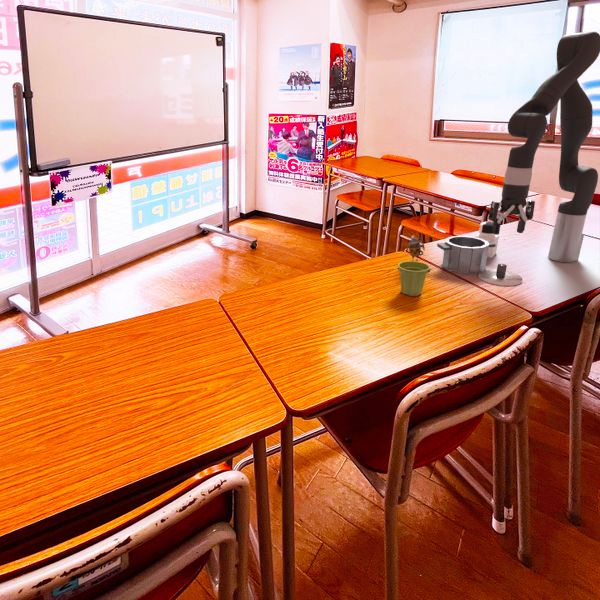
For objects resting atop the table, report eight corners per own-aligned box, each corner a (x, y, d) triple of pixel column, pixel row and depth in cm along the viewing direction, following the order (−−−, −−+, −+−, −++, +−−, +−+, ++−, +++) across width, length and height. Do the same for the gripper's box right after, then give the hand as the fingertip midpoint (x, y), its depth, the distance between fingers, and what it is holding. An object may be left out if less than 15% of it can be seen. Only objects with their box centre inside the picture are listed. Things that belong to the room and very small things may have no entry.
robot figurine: (431, 266, 177) (435, 233, 173) (430, 275, 169) (434, 241, 164) (399, 263, 180) (402, 230, 175) (397, 272, 172) (400, 238, 167)
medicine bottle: (496, 253, 192) (501, 222, 187) (491, 258, 186) (496, 226, 181) (477, 249, 195) (481, 219, 190) (472, 254, 190) (476, 223, 185)
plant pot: (392, 287, 159) (394, 261, 156) (421, 286, 160) (424, 260, 157) (400, 298, 151) (402, 271, 147) (430, 298, 152) (434, 270, 148)
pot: (477, 258, 186) (480, 234, 182) (499, 271, 173) (504, 246, 170) (428, 261, 182) (431, 237, 178) (448, 275, 169) (451, 249, 166)
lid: (505, 270, 175) (508, 257, 173) (530, 285, 163) (533, 270, 161) (470, 273, 172) (472, 259, 170) (493, 288, 160) (495, 273, 158)
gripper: (529, 179, 160) (520, 229, 166) (489, 180, 156) (481, 231, 163) (545, 183, 153) (534, 235, 159) (503, 185, 150) (494, 237, 156)
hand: (507, 233), depth 161 cm, fingers open, 8 cm apart
